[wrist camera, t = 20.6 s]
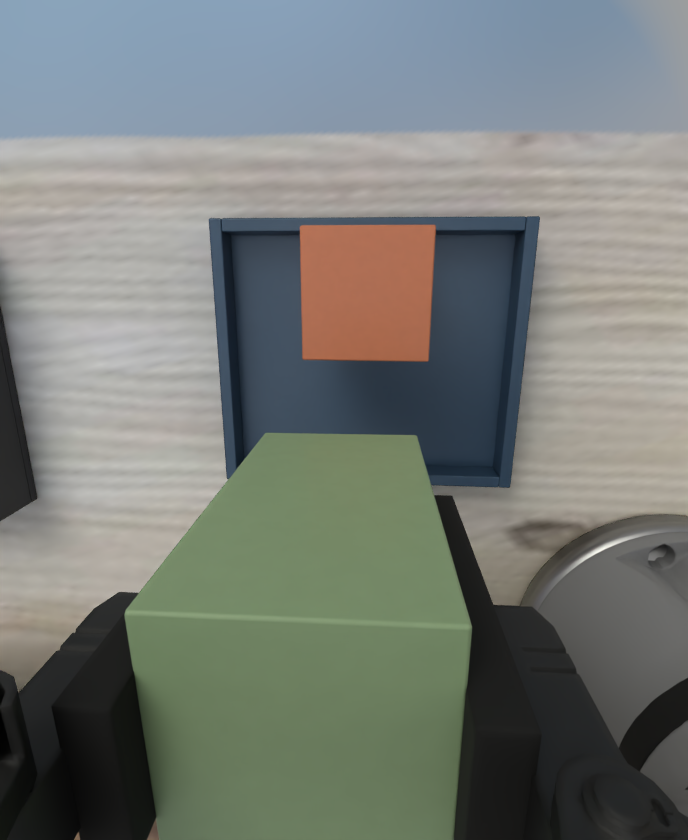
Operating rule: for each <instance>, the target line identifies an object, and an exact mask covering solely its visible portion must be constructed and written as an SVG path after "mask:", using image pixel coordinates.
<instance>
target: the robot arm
mask: <svg viewBox="0 0 688 840" xmlns="http://www.w3.org/2000/svg"><path fill="white" fill-rule="evenodd" d="M434 497H435V500H436V504H437V507H438V511H439V514H440V518H441V521H442V524H443V528H444V531H445V535H446V538H447V542H448V545H449V549H450V552H451V556H452V559H453V563H454V566H455V570H456V573H457V576H458V580H459V583H460V587H461V590H462V594H463V597H464V601H465V604H466V608H467V611H468V615H469V618H470V622H471V625H472V636H471V648H470V660H469V672H468V684H467V688H466V697H465V709H464V721H463V733H462V745H461V757H460V769H459V781H458V794H457V806H456V818H455V830H454V840H688V516H680V515H647V516H639V517H633V518H628V519H624V520H620V521H616V522H613V523H610V524H607V525H604V526H602V527H599V528H597V529H594V530H592V531H590V532H588V533H586V534H584V535H582V536H580V537H579V538H577V539H575V540H574V541H572V542H571V543H569V544H568V545H566V546H565V547H564V548H562V549H561V550H560V551H559V552H557V553H556V554H555V555H554V556H553V557H552V558H551V559H550V560H549V561H548V562H547V563H546V564H545V565H544V566H543V567H542V568H541V569H540V571H539V572H538V573H537V575H536V576H535V577H534V579H533V580H532V582H531V583H530V585H529V587H528V589H527V591H526V593H525V595H524V597H523V599H522V602H521V605H520V606H504V605H493V603H492V600H491V598H490V595H489V592H488V590H487V587H486V585H485V582H484V579H483V577H482V574H481V571H480V569H479V566H478V563H477V561H476V558H475V555H474V553H473V550H472V547H471V545H470V542H469V539H468V537H467V534H466V531H465V529H464V526H463V523H462V521H461V518H460V515H459V513H458V510H457V507H456V505H455V502H454V499H453V497H452V496H444V495H434ZM138 594H139V593H128V592H119V593H117V594H116V595H114V596H113V597H111V598H110V599H108V600H107V601H105V602H104V603H102V604H101V605H99V606H98V607H96V608H94V609H93V611H92V612H91V613H90V614H89V615H88V616H87V617H86V618H85V620H84V621H83V622H82V623H81V624H80V625H79V626H78V627H77V629H76V632H75V633H72V634H71V635H70V636H69V638H68V639H67V640H66V641H65V642H64V643H63V644H62V645H61V648H60V651H56V652H55V653H54V654H53V655H52V657H51V658H50V659H49V660H48V661H47V662H46V663H45V664H44V666H43V667H42V668H41V669H40V670H39V671H38V672H37V673H36V675H35V676H34V677H33V678H32V679H31V680H30V681H29V682H28V684H27V685H26V686H25V687H24V688H23V689H22V690H21V691H20V693H19V694H18V690H17V686H16V683H15V680H14V677H13V676H11V675H9V674H7V673H5V672H3V671H0V840H74V839H75V837H76V835H77V833H78V832H79V836H80V840H147V838H148V836H149V834H150V831H151V829H152V826H153V824H154V822H155V819H156V811H155V805H154V798H153V792H152V785H151V779H150V773H149V766H148V760H147V753H146V747H145V740H144V734H143V727H142V721H141V714H140V708H139V701H138V695H137V688H136V682H135V675H134V671H133V667H132V661H131V654H130V648H129V641H128V635H127V629H126V622H125V616H124V615H125V611H126V609H127V608H128V606H129V605H130V604H131V603H132V601H133V600H134V599H135V598H136V596H137V595H138Z"/></svg>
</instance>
